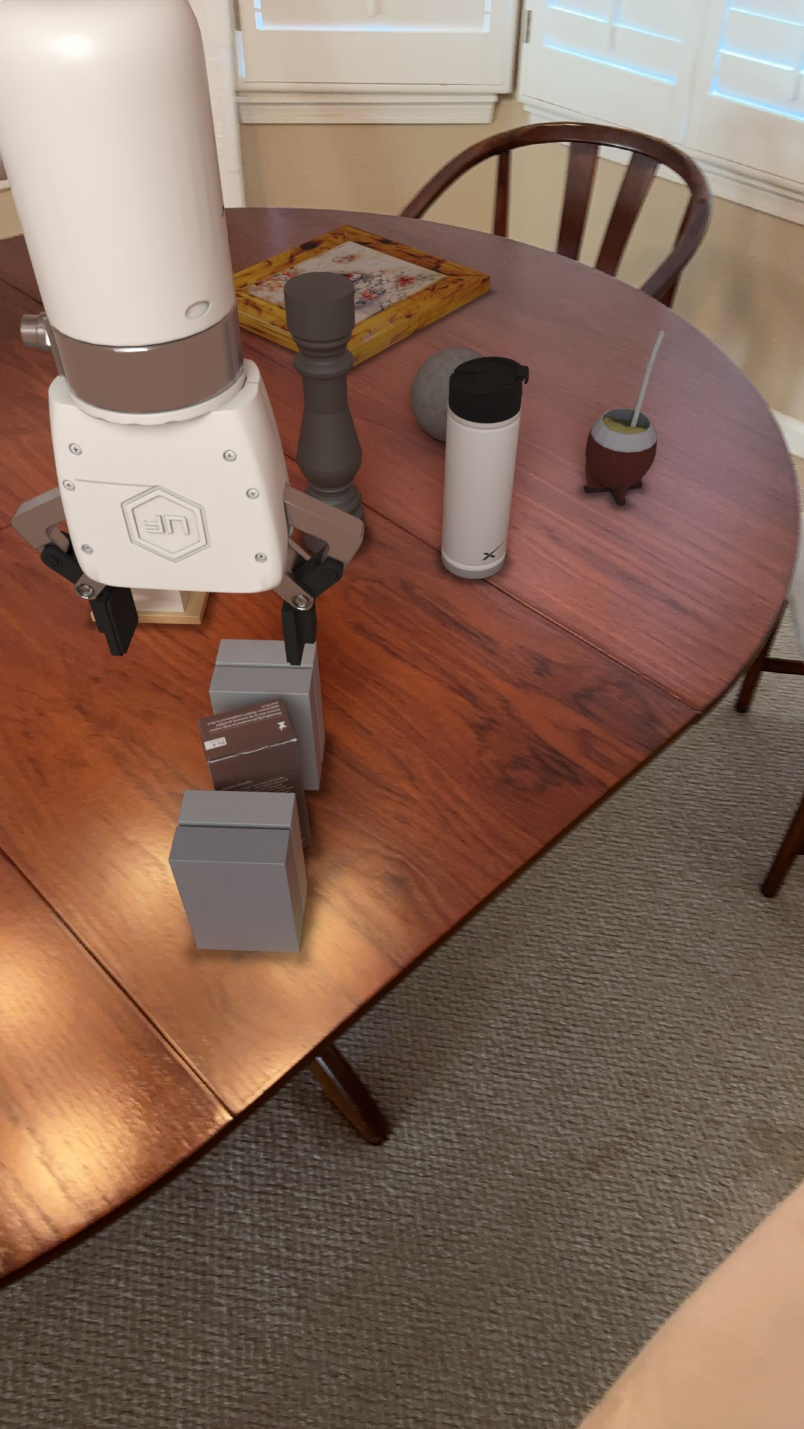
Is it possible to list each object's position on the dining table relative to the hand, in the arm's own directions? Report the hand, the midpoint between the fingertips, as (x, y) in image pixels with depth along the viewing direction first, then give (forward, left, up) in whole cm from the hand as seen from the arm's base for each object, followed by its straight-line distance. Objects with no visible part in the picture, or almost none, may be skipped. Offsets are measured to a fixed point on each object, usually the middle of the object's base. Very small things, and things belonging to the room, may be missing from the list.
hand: (211, 643), depth 52 cm
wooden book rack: (-14, +34, -22) cm, 43 cm away
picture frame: (-1, +91, -22) cm, 94 cm away
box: (0, +3, -22) cm, 23 cm away
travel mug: (+16, +36, -22) cm, 45 cm away
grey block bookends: (0, +2, -22) cm, 22 cm away
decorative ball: (+14, +58, -22) cm, 63 cm away
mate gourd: (+31, +49, -22) cm, 62 cm away
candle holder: (+2, +38, -22) cm, 45 cm away
